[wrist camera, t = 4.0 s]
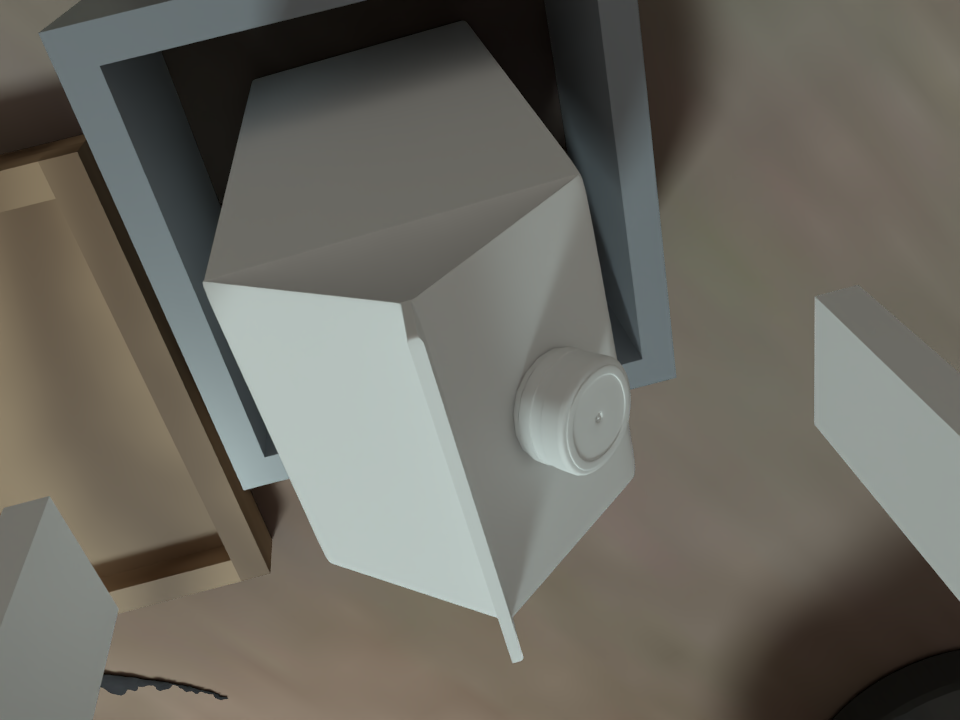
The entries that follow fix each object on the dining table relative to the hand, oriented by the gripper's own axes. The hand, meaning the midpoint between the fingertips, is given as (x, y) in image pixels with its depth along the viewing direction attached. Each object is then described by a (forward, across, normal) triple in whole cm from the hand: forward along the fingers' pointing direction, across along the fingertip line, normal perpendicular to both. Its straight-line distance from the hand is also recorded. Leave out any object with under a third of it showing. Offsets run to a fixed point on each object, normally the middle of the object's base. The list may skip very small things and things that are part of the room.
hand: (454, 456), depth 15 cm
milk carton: (+18, 0, 0) cm, 18 cm away
